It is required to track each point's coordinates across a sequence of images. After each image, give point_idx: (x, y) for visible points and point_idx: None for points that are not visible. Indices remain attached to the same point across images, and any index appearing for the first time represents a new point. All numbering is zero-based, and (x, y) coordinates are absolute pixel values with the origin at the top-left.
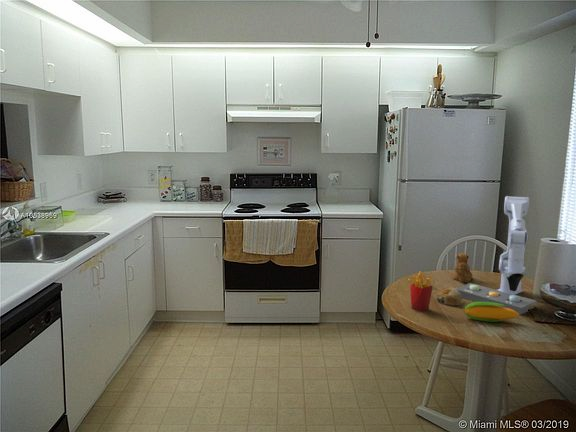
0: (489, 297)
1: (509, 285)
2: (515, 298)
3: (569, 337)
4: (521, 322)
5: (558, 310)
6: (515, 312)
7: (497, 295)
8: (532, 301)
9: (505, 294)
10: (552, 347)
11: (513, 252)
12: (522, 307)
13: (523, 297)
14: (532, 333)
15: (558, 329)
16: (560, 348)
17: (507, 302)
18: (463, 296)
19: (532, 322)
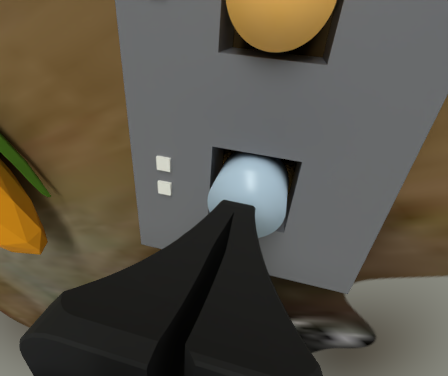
0: (153, 7)
1: (197, 226)
2: None
3: None
4: (85, 234)
5: (365, 331)
6: (9, 250)
7: (259, 48)
8: (309, 277)
9: (369, 92)
10: (15, 307)
11: None
12: (158, 246)
13: (370, 228)
14: (39, 270)
15: None
16: (29, 319)
17: (161, 168)
18: None
19: (123, 263)
